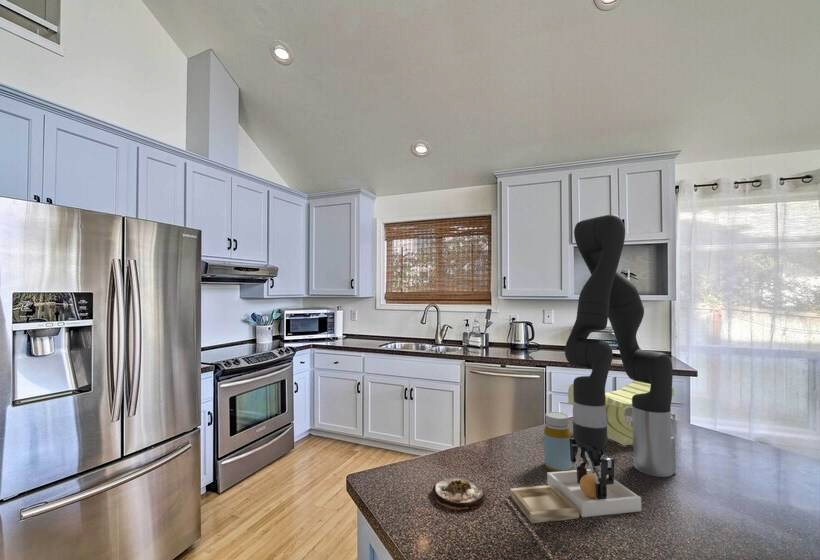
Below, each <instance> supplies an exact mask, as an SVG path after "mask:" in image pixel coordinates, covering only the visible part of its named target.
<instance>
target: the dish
mask: <svg viewBox="0 0 820 560" xmlns="http://www.w3.org/2000/svg"><path fill="white" fill-rule="evenodd" d="M586 469H587V474H591V475H594V474H593V473H592V472H591V470H590V468H586ZM546 474H547V475H546V478H547V482H546V483H547V485H553V486H554V487H555V488H556V489H557V490H558V491H559V492H560V493H561V494H562V495H563V496H564V497H566V498H567V499H568V500H569V501H570V502H571V503H572V504H573V505H574V506H575V507H576V508H577V509H578V510H579V517H580V516H581V518H588V517H598V516H608V515H616V514H617V515H618V514H625V513H626V514H627V513H629V514H630V513H636V512H642V496H640V495H638V494H636V493H635V492H634V491H632V490H631V489H629V488H628V487H626V485H623V484H622V483H620V482H619V481H618V480H616V479H615V478H614V484H609V485H607V498H606V499H600V500H598V499H597V498H591V497H588V496H586V495H585V494H584V493H583V492H582V490H581V488H580V484H578V483H577V469H574V470H573V469H571V470H570V471H560V472H555V471H550V472H546ZM598 474H599V477H600V478H601V472H598ZM608 476H609V475H607V478H608Z"/></svg>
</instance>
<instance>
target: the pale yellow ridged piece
mask: <svg viewBox="0 0 820 560" xmlns="http://www.w3.org/2000/svg"><path fill="white" fill-rule="evenodd" d="M650 387H651V384H648V383H643V382H638V381H634V380H632V383H628V384H626V385H625V386H623V387H620V388H619V389H617V390H613V391H607V392H606V391H605V406H606V412H607V437H609V438H611V439H613V440H615V441H617V442H619V443H621V444H623V445H629V444H633V425H630V423H628V422H627V421H626V418H625V413H626V410H627V409H632V397H633V396H634V395H636V394H642V393H648V392H649V391H650ZM674 388H675V387H674V386H672V397H673V396H675V390H674ZM567 389H568V390H567V394H568V395H567V397H568V398H567V399H568V402H567V403H568V404H570V405H572V406H573V403H574V396H573V383H572V384H570V385H569V387H568V388H567Z"/></svg>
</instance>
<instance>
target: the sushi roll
mask: <svg viewBox="0 0 820 560" xmlns="http://www.w3.org/2000/svg"><path fill="white" fill-rule="evenodd" d="M484 491H485V490H484V489H483V487H482V485H481V484H479V483H478V482H477V481H476V480H474V481H472V480H470V479H469V478H467V477H460V476H459V477H457V476H455V477H449V478H445V479H441V480H439V481H437V482H435V484H434V485H433V488H432V493H433V496H434V501H435V502H436V503H437V504H438V505H439V507H442V508H444V509H447V508H448V509H447V510H450V509H451V511H453V512H454V511H460V510H461V511H460V512H466V511H468V512H470V510H474V509H477V508H478V509H479V511H480V510H482V509H483V505H484V504H485V501H486V493H485V492H484ZM481 508H482V509H481Z"/></svg>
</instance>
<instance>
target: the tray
mask: <svg viewBox="0 0 820 560" xmlns="http://www.w3.org/2000/svg"><path fill="white" fill-rule="evenodd" d="M509 496H510V498H511V499H512V500H513V502H514V503H515V504H516V506H518V507H519V509H520V510H521V511H522V513H523V515H525V516H526V518H527V519H528V520H529V521H530V523H531V524H535V523H537V524H538V523H545V522H546V523H547V522H548V523H549V522H555V521H563V520H565V521H567V520H574V519H575V520H576V519H580V515H579V510H578V509H577V508H576V507H575V506H574V505H573V504H572V503H571V502H570V501H569V500H568V499H567V498H566V497H564V496H563V495H562V494H561V493H560V492H559V491H558V490H557V489H556V488H555V487H554V486H553V485H548V484H547V485H535V486H525V487H524V486H523V487H511V488H509Z"/></svg>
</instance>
